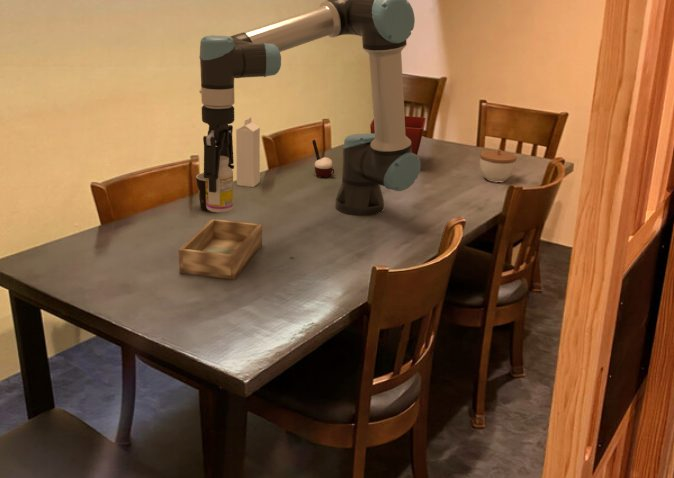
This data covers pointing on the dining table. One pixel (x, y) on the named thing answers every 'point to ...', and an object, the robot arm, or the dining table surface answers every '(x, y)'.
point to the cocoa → (322, 164)
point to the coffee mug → (202, 191)
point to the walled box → (220, 249)
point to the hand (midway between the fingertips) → (219, 199)
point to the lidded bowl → (497, 165)
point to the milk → (248, 154)
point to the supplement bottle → (223, 187)
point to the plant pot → (411, 131)
